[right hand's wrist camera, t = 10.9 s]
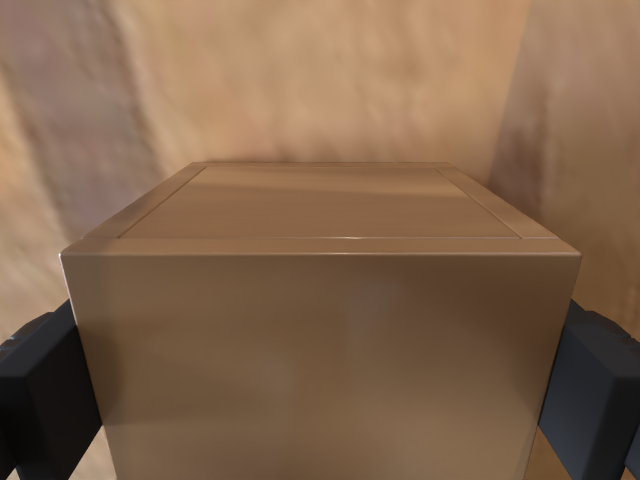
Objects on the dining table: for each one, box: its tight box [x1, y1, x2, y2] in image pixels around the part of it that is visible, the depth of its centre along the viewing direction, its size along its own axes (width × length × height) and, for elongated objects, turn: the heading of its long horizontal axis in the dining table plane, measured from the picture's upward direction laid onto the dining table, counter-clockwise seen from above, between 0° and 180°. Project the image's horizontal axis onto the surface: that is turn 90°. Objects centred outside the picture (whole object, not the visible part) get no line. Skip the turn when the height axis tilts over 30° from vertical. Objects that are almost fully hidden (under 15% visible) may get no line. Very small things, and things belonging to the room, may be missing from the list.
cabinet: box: [59, 162, 582, 480], centre depth 15 cm, size 18×10×9 cm, turn 0°
